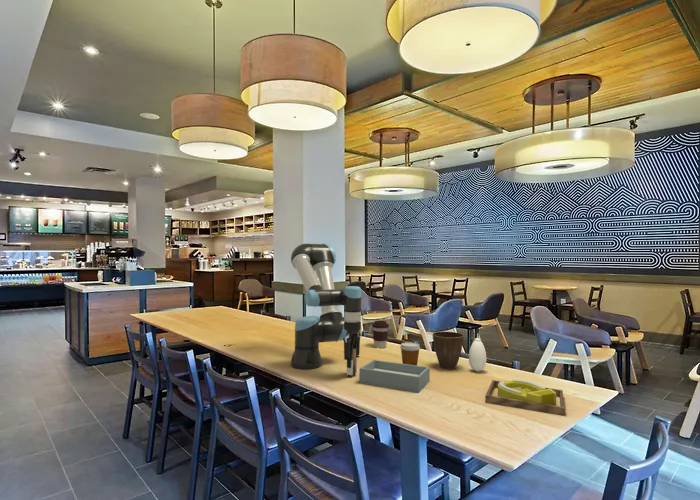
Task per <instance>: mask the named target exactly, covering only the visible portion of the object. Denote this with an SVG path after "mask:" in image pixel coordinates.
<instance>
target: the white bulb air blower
mask: <svg viewBox="0 0 700 500" xmlns="http://www.w3.org/2000/svg"><path fill="white" fill-rule="evenodd" d="M481 340H482V339H481V338H479V333H477V337H476V338H474V340H473V342H472V344H471V345H470V348H469V351H468V363H469V366H470V367H471V369H472V370H473V371H475V372H477V373H479V372H481V371H482V370H484V369H485V366H486V364H487V351H486V349H485V346H484V343H483V342H482V341H481Z"/></svg>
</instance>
